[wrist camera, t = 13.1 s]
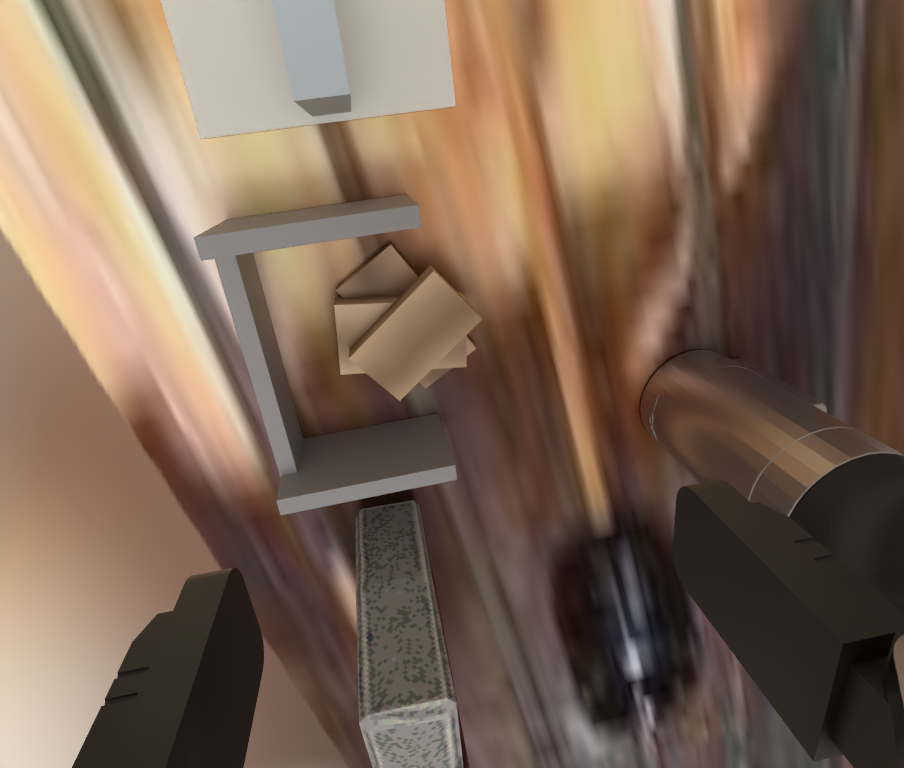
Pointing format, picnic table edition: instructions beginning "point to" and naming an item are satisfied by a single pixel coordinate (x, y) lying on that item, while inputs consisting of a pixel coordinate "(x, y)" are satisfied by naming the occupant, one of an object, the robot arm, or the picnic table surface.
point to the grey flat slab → (313, 55)
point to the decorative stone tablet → (402, 646)
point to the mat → (265, 74)
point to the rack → (298, 459)
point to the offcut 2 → (414, 333)
